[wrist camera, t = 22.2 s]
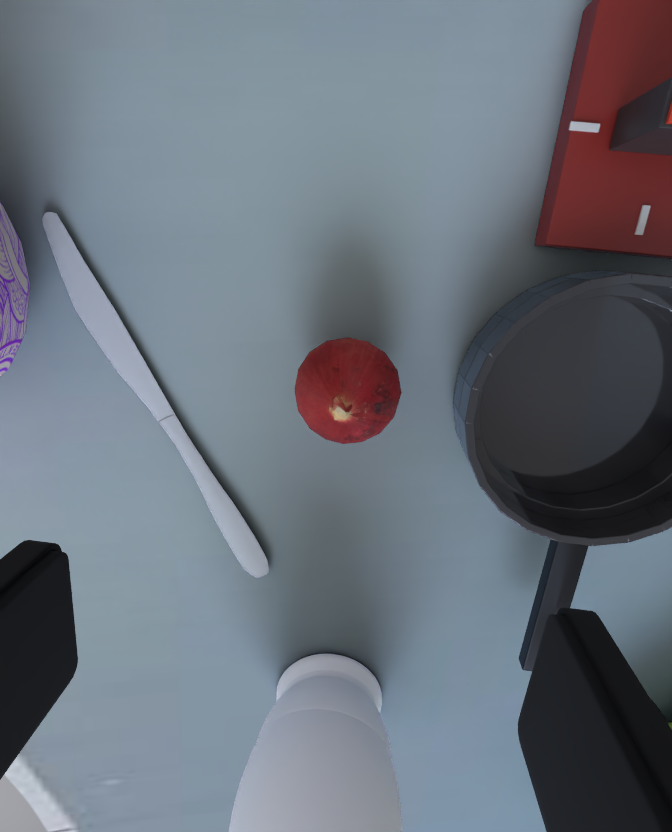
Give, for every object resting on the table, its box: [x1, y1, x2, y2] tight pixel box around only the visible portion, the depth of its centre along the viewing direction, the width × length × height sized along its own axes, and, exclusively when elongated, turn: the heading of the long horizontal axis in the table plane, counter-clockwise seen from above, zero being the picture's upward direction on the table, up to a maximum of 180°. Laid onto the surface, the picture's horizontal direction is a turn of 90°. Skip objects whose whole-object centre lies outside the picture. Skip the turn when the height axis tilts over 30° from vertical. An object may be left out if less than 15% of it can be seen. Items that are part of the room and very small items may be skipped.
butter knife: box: [42, 212, 269, 578], centre depth 32 cm, size 1×27×3 cm
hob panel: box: [535, 0, 672, 259], centre depth 25 cm, size 11×9×2 cm
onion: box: [295, 338, 401, 444], centre depth 27 cm, size 6×6×8 cm
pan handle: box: [519, 539, 588, 671], centre depth 30 cm, size 10×2×1 cm, turn 175°
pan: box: [453, 271, 672, 546], centre depth 28 cm, size 15×15×4 cm
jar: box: [229, 654, 402, 832], centre depth 32 cm, size 11×10×15 cm
